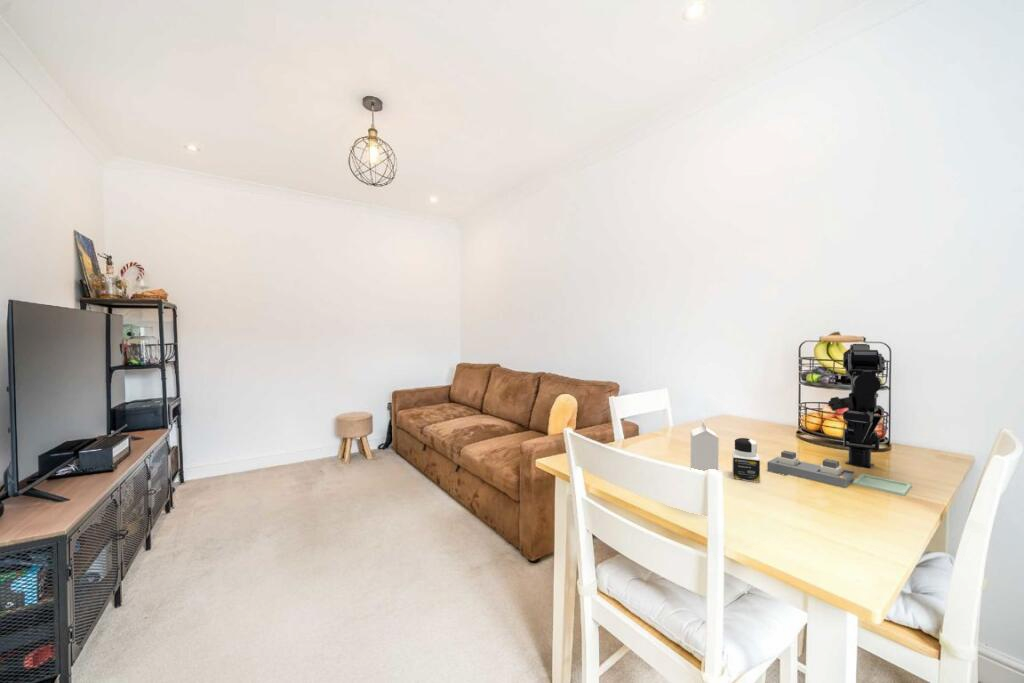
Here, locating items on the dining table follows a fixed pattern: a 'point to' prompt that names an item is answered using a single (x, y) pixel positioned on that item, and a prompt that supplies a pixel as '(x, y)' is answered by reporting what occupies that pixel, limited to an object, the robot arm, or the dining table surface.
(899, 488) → the parts tray
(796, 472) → the grey socket board
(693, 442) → the milk
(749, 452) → the medicine bottle
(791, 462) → the twin plug
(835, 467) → the plug
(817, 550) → the dining table surface
